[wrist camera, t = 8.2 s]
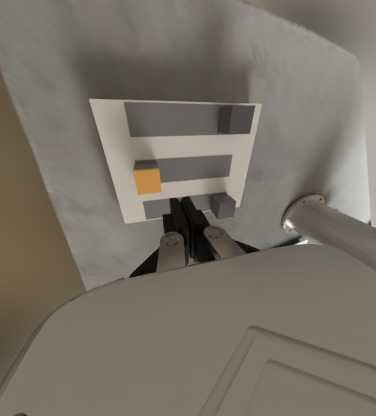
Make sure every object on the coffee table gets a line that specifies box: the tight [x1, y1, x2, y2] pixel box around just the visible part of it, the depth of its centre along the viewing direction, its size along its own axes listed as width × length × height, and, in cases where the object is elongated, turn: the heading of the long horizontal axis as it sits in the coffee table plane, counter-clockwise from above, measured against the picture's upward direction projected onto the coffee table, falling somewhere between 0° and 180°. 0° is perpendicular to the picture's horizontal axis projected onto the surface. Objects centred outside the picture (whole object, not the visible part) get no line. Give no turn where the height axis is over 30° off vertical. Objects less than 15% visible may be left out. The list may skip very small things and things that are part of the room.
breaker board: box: [89, 99, 262, 224], centre depth 22 cm, size 22×17×6 cm
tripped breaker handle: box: [133, 162, 162, 195], centre depth 19 cm, size 3×3×4 cm
